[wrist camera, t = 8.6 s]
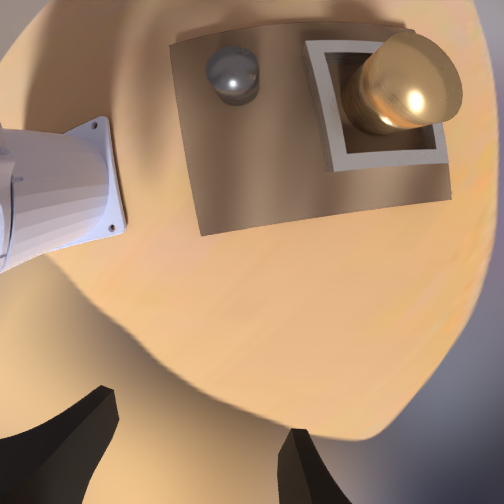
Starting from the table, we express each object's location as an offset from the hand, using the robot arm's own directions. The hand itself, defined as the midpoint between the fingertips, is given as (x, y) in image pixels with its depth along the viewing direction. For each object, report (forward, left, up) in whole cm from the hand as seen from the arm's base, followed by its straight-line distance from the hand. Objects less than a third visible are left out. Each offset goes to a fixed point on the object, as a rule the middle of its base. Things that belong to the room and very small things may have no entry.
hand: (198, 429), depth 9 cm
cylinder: (+11, +12, -8) cm, 18 cm away
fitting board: (+8, +12, -9) cm, 17 cm away
